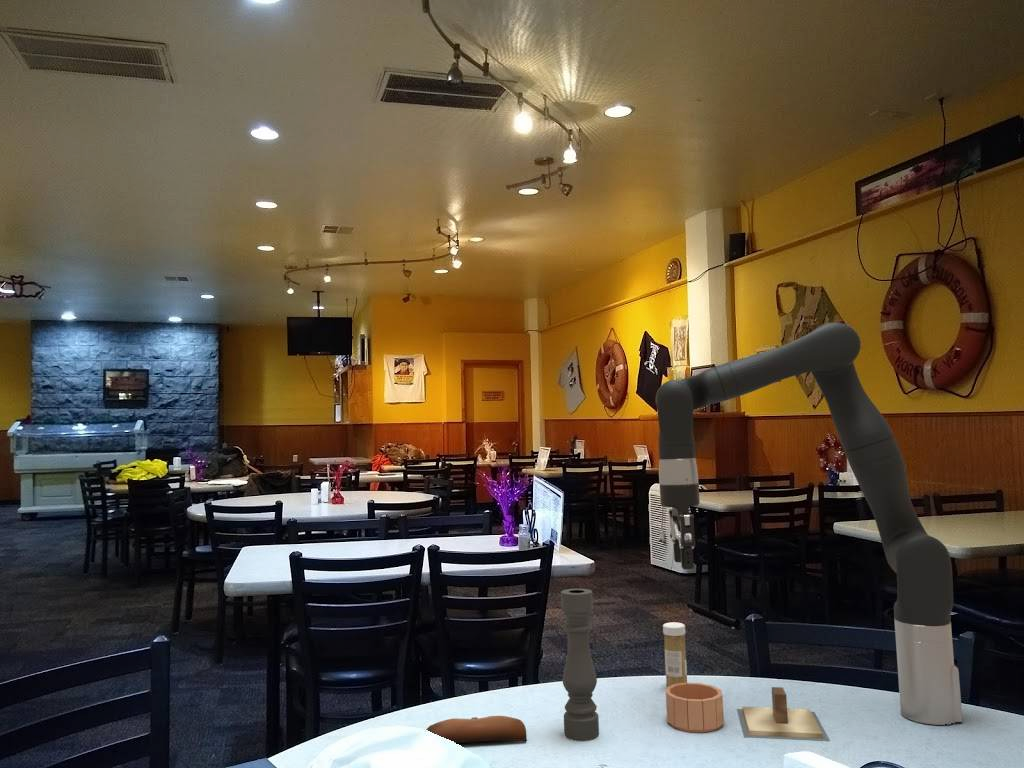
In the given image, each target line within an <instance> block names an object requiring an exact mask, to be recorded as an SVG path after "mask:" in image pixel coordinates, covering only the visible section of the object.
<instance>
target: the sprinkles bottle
mask: <svg viewBox="0 0 1024 768" xmlns="http://www.w3.org/2000/svg"><path fill="white" fill-rule="evenodd" d="M662 633H663V640H664V643H663V644H664V665H665V667H664V668H665V669H664V670H665V681H666V682H665V683H666V687H665V689H666V688H667V687H669V686H671V685H674V684H680V683H688V670H687V669H688V668H687V666H688V665H687V654H686V653H687V652H686V638H685V637H686V625H685V624H684V623H681V622H676V621H675V622H674V621H673V622H666V623H663V625H662Z"/></svg>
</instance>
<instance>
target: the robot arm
mask: <svg viewBox="0 0 1024 768" xmlns="http://www.w3.org/2000/svg"><path fill="white" fill-rule="evenodd" d="M860 351H861V337H860V335H859V334H858V333H857V331H856V330H855V328H852V326H850V325H847V324H846V323H842V322H838V321H837V322H827V323H823V324H821V325H819V326H817V327H816V328H815V329H813V330H812V331H810V332H809V333H807V334H805V335H804V336H801V337H799V338H798V339H795V340H792V341H790V342H787V343H785V344H783V345H781V346H778V347H775V348H772V349H769V350H767V351H766V350H765V351H763V352H759V353H756V354H751V355H749V356H748V355H747V356H745V357H741V358H738V359H735V360H731V361H728V362H726V363H722V364H719V365H715V366H713V367H710V368H708V369H705V370H703V371H702V372H700V373H699V374H695V375H692V376H688V377H685V378H681V379H677V380H676V379H672V380H671V379H670V380H668V381H665V382H664V383H662V385H660V386H659V388H657V389H658V390H657V391H656V394H655V405H656V411H657V420H658V427H659V429H658V431H659V433H658V440H657V441H658V459H659V465H658V478H659V479H658V482H659V497H660V505H661V506H662V507H664V508H669V510H668V514H669V515H668V516H669V517H668V518H669V537H670V539H671V542H672V545H673V560H674V561H675V563H681V568H682V569H683V570H693V569H694V567H695V566H694V565H695V564H694V548H695V547H696V545H697V544H696V543H697V542H696V534H695V532H696V531H695V521H694V520H695V516H694V514H691V513H690V510H689V509H690V508H691V507H693V508H695V507H698V506H700V490H699V489H700V487H699V486H700V485H699V474H698V473H699V472H698V466H697V459H696V448H695V446H696V445H695V437H694V432H693V431H694V428H693V427H694V411H696V410H699V409H701V408H704V407H707V406H708V405H713V404H717V403H722V402H726V401H728V400H732V399H735V398H738V397H741V396H744V395H748V394H750V393H753V392H756V391H757V390H760V389H763V388H766V387H767V386H770V385H773V384H775V383H778V382H780V381H782V380H786V379H789V378H792V377H795V376H799V375H802V374H807V373H811V374H812V376H813V378H814V380H815V382H816V384H817V386H818V387H819V389H820V391H821V393H822V395H823V397H824V399H825V401H826V404H827V407H828V409H829V413H830V415H831V419H832V422H833V424H834V427H835V430H836V433H837V435H838V437H839V440H840V444H841V446H842V450H843V453H844V454H845V456H846V459H847V462H848V464H849V465H850V468H851V471H852V474H853V475H854V478H855V479H856V481H857V483H858V486H859V488H860V491H861V492H862V495H863V496H864V498H865V500H866V502H867V505H868V506H869V508H870V510H871V513H872V516H873V517H874V520H875V523H876V527H877V530H878V533H879V537H880V540H881V544H882V547H883V551H884V552H883V553H884V554H885V559H886V560H887V564H888V565H889V567H890V568H891V569H892V570H893V572H895V574H896V581H897V583H896V587H897V597H896V601H895V602H894V604H893V618H894V631H895V633H894V634H895V646H896V661H897V663H896V664H897V674H898V675H897V676H898V679H897V680H898V690H899V691H898V693H899V706H900V714H901V715H902V716H903V717H904V718H906V719H909V720H911V721H914V722H917V723H921V724H925V725H926V724H927V725H935V726H936V725H937V726H944V725H945V724H947V725H952V724H951V723H953V724H956V723H955V722H962V723H963V713H962V701H961V700H962V697H961V684H960V672H959V668H958V667H957V666H956V664H955V662H954V661H955V659H954V658H955V657H954V646H953V635H952V621H951V619H952V616H951V615H952V613H951V612H952V611H953V607H954V585H953V584H954V582H953V565H952V559H951V555H950V552H949V550H948V549H947V547H946V546H945V544H944V543H943V542H942V541H940V540H939V539H937V538H935V537H934V536H932V535H928V533H927V531H926V530H925V527H924V526H923V524H922V523H921V520H920V518H919V517H918V514H917V512H916V510H915V508H914V505H913V503H912V499H911V496H910V492H909V491H910V490H909V482H908V475H907V470H906V464H905V460H904V457H903V454H902V451H901V450H900V449H901V448H899V444H898V442H897V440H896V437H895V436H894V433H893V431H892V429H891V427H890V425H889V424H888V422H887V420H886V419H885V417H884V416H883V414H882V412H880V410H879V409H878V407H877V406H876V404H874V402H873V401H872V399H871V398H870V397H869V396H868V394H867V392H866V391H865V389H864V388H863V385H862V383H861V381H860V378H859V375H858V372H857V370H856V367H855V364H854V362H855V361H856V359H857V358H858V356H859V353H860ZM945 726H946V725H945Z"/></svg>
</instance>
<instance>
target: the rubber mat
mask: <svg viewBox="0 0 1024 768" xmlns="http://www.w3.org/2000/svg"><path fill="white" fill-rule="evenodd" d="M736 712H737V715H738V718H739V719H738V720H739V723H740V727H741V731H742V733H743V738H747V739H748V738H751V739H766V740H767V739H772V740H791V741H793V740H794V741H811V742H812V741H813V742H814V741H815V742H831V740H830V738H829V736H828V734H827V733H826V731H825V729H824V727H823V725H822V723H821V721H820V719H819V718H818V716H817V714H816V712H815V711H811V713H812V715H813V717H814V719H815V720H816V722H817V724H818V726H819V728H820V730H821V732H822V734H823V738H801V737H778V736H756V735H749V732H748V728H747V725H746V721H745V717H744V714H743V709H742V708H736Z"/></svg>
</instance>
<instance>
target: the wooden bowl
mask: <svg viewBox="0 0 1024 768" xmlns="http://www.w3.org/2000/svg"><path fill="white" fill-rule="evenodd" d="M723 698H724V697H723V691H722V689H720V688H718V687H717V686H715V685H712V684H711V685H710V684H706V683H702V682H687V683H680V684H674V685H671V686H669V687H667V688H666V687H665V702H666V704H665V705H666V721H667V722H668V723H669V725H670V726H672V727H673V728H675V729H678V730H681V731H683V732H688V733H689V732H690V733H710V732H713V731H716V730H718V729H720V728H721V726H723V725H725V722H724V721H725V719H724V716H725V715H724V702H723V701H724V700H723Z"/></svg>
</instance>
